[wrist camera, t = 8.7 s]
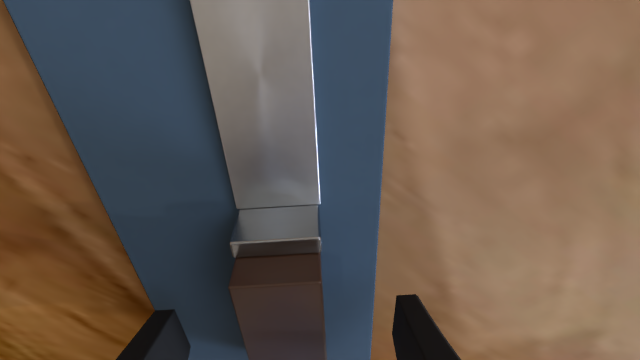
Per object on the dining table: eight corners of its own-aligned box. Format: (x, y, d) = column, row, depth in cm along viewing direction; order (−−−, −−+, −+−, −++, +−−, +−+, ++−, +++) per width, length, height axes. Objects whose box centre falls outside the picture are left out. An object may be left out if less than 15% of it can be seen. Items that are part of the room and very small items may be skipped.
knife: (328, 353, 15) (333, 425, 12) (271, 356, 15) (265, 429, 12) (290, -331, 5) (278, -611, 3) (122, -322, 5) (-45, -597, 3)
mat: (203, 397, 17) (201, 406, 17) (-138, -325, 5) (-170, -347, 5) (366, 387, 17) (368, 395, 17) (410, -351, 5) (417, -374, 5)
